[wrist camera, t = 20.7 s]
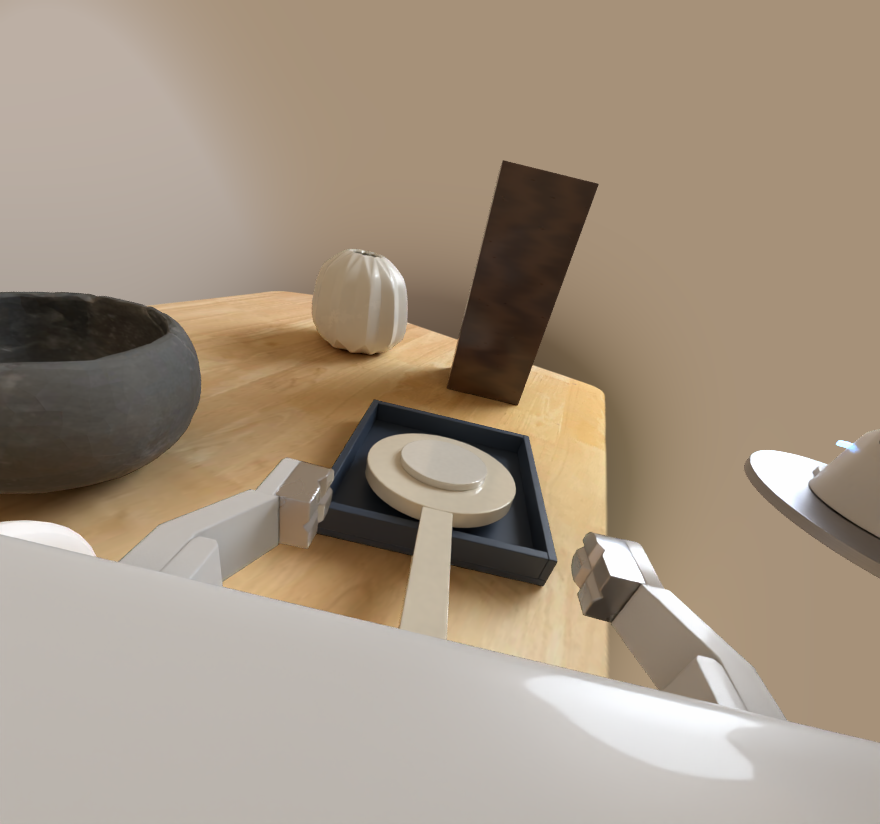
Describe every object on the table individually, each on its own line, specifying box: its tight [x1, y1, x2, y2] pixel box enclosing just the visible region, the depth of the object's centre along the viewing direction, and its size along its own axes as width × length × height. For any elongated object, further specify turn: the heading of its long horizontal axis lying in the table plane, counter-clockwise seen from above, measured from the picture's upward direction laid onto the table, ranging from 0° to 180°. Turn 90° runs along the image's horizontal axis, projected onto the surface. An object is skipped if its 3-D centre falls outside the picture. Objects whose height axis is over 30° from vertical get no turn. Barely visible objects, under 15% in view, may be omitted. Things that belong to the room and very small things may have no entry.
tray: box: [317, 400, 557, 586], centre depth 29 cm, size 16×15×3 cm
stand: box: [447, 161, 598, 405], centre depth 45 cm, size 10×8×26 cm
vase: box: [312, 249, 408, 355], centre depth 51 cm, size 14×14×13 cm
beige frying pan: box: [365, 433, 516, 640], centre depth 23 cm, size 12×22×2 cm, turn 174°
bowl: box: [0, 292, 201, 494], centre depth 22 cm, size 15×15×10 cm
